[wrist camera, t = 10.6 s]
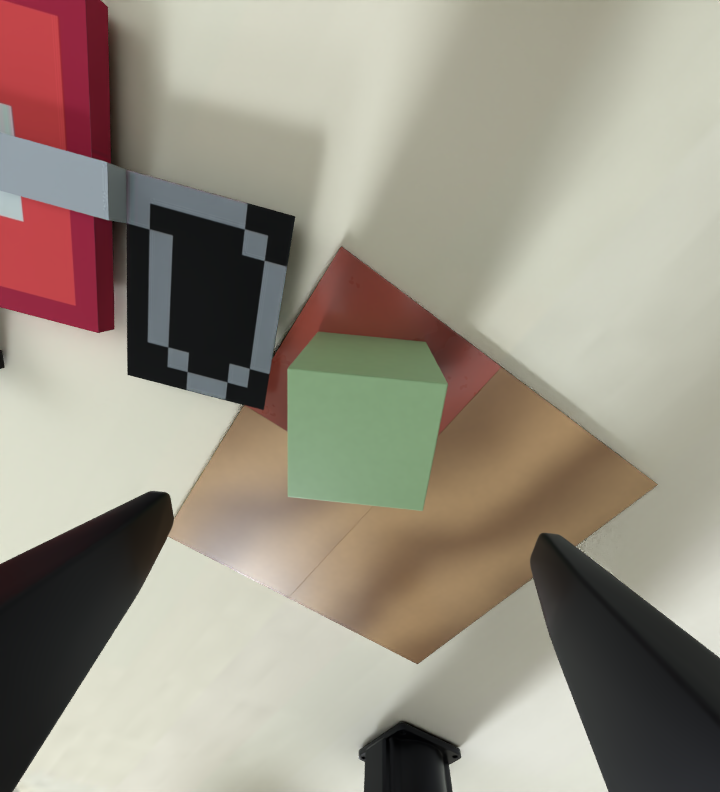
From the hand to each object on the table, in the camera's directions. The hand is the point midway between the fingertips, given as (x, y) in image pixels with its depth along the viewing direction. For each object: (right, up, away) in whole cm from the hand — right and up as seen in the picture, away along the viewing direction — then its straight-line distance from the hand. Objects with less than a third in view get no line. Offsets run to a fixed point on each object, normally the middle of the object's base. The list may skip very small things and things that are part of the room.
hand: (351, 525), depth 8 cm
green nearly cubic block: (0, +4, +8) cm, 9 cm away
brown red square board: (+2, -3, +11) cm, 12 cm away
